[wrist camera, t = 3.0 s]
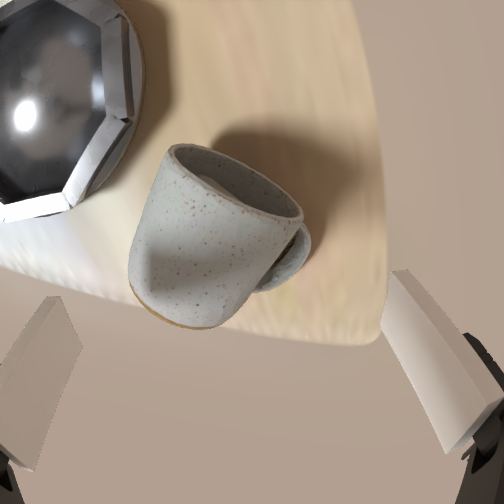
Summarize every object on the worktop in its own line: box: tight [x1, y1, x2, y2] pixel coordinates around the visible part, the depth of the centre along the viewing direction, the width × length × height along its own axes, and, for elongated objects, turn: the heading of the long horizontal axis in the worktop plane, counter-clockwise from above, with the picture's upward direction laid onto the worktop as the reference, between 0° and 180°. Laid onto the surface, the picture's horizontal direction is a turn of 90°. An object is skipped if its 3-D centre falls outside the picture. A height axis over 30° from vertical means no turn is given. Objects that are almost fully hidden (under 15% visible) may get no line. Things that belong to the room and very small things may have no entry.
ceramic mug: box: [128, 143, 312, 330], centre depth 17 cm, size 11×8×8 cm
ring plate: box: [0, 0, 145, 222], centre depth 13 cm, size 17×17×2 cm
